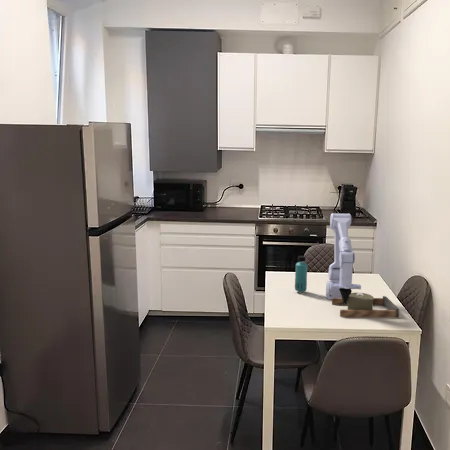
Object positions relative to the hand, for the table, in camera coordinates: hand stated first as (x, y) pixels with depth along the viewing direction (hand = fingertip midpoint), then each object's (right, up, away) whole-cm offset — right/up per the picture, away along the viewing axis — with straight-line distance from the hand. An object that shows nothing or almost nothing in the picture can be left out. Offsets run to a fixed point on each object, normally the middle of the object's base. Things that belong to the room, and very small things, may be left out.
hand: (344, 303), depth 218 cm
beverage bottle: (-17, +1, +26) cm, 31 cm away
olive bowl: (+8, -4, +1) cm, 8 cm away
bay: (+10, -3, +1) cm, 10 cm away
